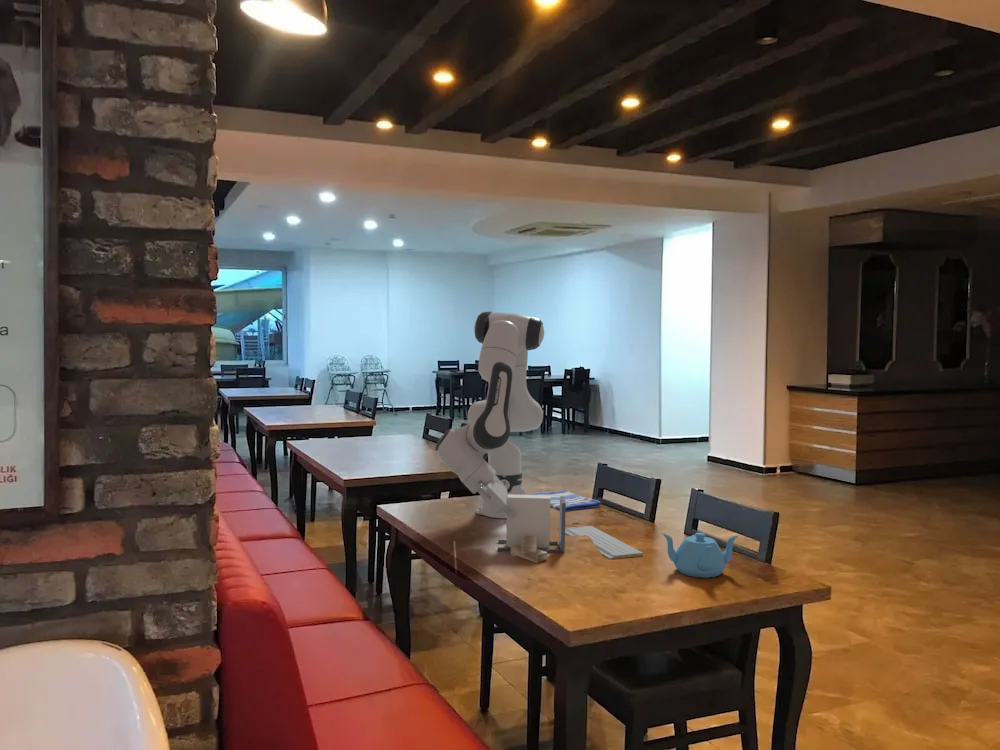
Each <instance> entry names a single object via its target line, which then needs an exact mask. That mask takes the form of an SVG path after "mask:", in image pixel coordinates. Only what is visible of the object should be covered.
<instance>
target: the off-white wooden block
mask: <svg viewBox="0 0 1000 750" xmlns="http://www.w3.org/2000/svg"><path fill="white" fill-rule="evenodd" d="M507 504H508V505H509V506H510V507H511V508H512V509H513V510H514V511H515V512H516V516H515V517H514V518H511V517H510V516H509V515H508V514H507V518H506V538H505V540H506V545H505V548H511V546H514V545H518V544H522V536H536V544H537V548H546V549H550V545H549V541H550V526H551V525H550V524H551V507H550V495H531V494H526V495H515V494H508V495H507Z"/></svg>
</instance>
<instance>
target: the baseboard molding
mask: <svg viewBox="0 0 1000 750" xmlns="http://www.w3.org/2000/svg"><path fill="white" fill-rule="evenodd" d="M572 525H576V527H566V526H568V524H567V525H566V524H565V535H567V536H570V537H571V536H574V537H577V536H587V537H589V538H590V540H591V541H592V542H593V544H594V545H595V547H596V548H597V549H598V551H599V552H600V553H601V555H602V556H604V558H606V559H608V560H615V559H624V558H625V559H626V558H635V557H643V556H644V552H643V551H640V550H638V549H637V548H635V547H633V546H631V545H629V544H627V543H625V542H623V541H621V540H619V539H618V538H616V537H613V536H612V535H609V534H608V533H606V532H604V531H603V530H600V529H598V528H596V527H594V526H592V522H590V523H589V525H584V526H583V525H582V526H577V525H581V523H579V522H575V523H574V522H573V523H572Z"/></svg>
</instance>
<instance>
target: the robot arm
mask: <svg viewBox="0 0 1000 750" xmlns="http://www.w3.org/2000/svg"><path fill="white" fill-rule="evenodd" d="M473 327H474V328H473V330H474V337H475V339H476V341H477V342H479V343H480V344H482V345H481V349H480V354H479V358H478V373H479V375H480V376H481V378H482V379H483V380H484V381H486V382H488V387H487V388H488V389H487V394H486V399H483V400H479V401H474V402H472V404H470V407H469V409H468V411H467V421H468V424H467V425H463V426H461V427H457V428H456V427H455V428H449V429H447V430H446V431H444V433H443V434H442V435H441V437H440V438H439V439H438V441H437V443H436V445H435V452H436V454H437V456H438V458H440V460H441V461H442V462H443V464H444V465H445V466H446V467H447V468H448V469H449V470H450V471H451V472H452V473H454V474H456V476H457V477H458V478H459V480H460V481H461V483H462V484H463V485H464V486H465V487H466V488H467V489H468V490H469V492H471V493H472V494H476V493H478V494H479V495H480V497H481V506H479V507H478V508H477V509H476V511H475V514H476V515H482V516H484V517H489V518H493V519H494V518H495V519H507V514H508V515H509V516H510V517H511V518H514V517H515V516H516V512H515V511H514V510H513V509H512V508H511V507H510V506H509V505H508V504H507V495H508V494H515V495H527V490H526V489H525V487H523V485H522V483H523V473H522V472H521V471H522V452H521V449H520V448H519V447H518V446H517V445H516V444H514V443H513V442H511V441H508V440H509V438H510V435H511V433H523V432H524V433H525V432H529V431H534V430H537V429H538V428H539V427H540V426H541V424H542V423H543V419H544V412H543V409H542V406H541V405H540V403H539V402H538V401H536V399H534V398H533V397H532V396H531V394H530V392H529V390H528V385H527V371H528V370H527V368H528V357H529V354H528V352H529V351H532V350H537V349H538V348H539V347H541V344H542V342H543V340H544V337H545V329H544V328H545V327H544V323H543V321H542V320H541V319H540V318H538V317H536V316H533V315H532V316H528V315H523V314H520V313H513V312H510V313H509V312H493V311H483V312H481V313H480V314H478V315H477V319H476V320H475V322H474V326H473ZM485 454H487V458H488V460H487V461H488V462H487V461H486V460H485V459H484V455H485Z"/></svg>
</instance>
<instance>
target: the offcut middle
mask: <svg viewBox="0 0 1000 750" xmlns="http://www.w3.org/2000/svg"><path fill="white" fill-rule="evenodd" d="M510 548H511V551H510V555H511V554H513V555H516V556H515V557H519V558H522V559H525V560H527V561H531V562H534V563H537V564H538V563H540V562H541V563H542V562H543V561H544V562H545V561H546V560H548V558H547V555H548V552H545V551H542V550H539V549H536V553H521V544H518V545H514V546H511V547H510Z"/></svg>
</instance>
